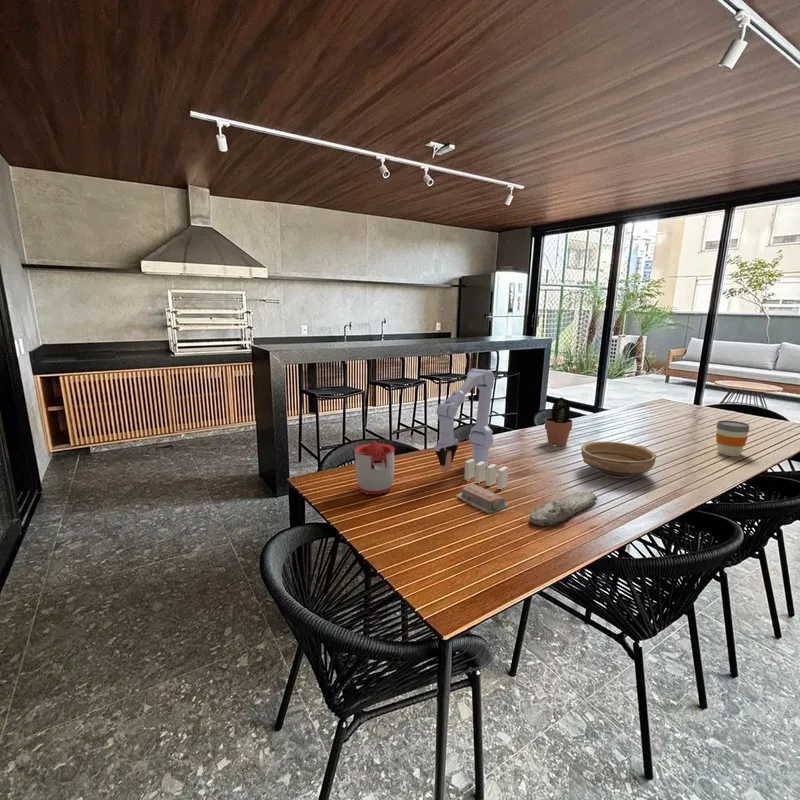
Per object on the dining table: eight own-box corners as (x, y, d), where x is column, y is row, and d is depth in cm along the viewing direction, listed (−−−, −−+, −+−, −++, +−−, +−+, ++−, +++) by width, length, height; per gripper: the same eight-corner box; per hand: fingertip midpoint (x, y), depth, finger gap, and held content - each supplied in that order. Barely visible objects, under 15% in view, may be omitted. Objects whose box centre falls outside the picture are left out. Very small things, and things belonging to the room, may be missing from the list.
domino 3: (475, 483, 175) (475, 464, 173) (481, 479, 178) (481, 461, 177) (478, 484, 173) (479, 465, 172) (485, 480, 177) (485, 462, 176)
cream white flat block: (464, 480, 178) (464, 461, 176) (470, 476, 182) (471, 458, 180) (468, 481, 177) (468, 462, 175) (474, 477, 180) (475, 459, 179)
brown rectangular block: (441, 471, 177) (441, 453, 176) (447, 468, 181) (448, 450, 180) (444, 472, 176) (444, 453, 175) (451, 469, 180) (451, 450, 178)
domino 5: (497, 489, 168) (497, 469, 167) (503, 485, 172) (503, 466, 170) (501, 490, 167) (502, 470, 166) (507, 486, 171) (508, 467, 169)
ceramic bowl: (618, 493, 163) (621, 468, 161) (558, 470, 187) (559, 448, 186) (674, 475, 181) (677, 452, 179) (612, 457, 205) (614, 436, 203)
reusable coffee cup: (752, 457, 202) (756, 426, 200) (725, 457, 203) (729, 426, 200) (732, 449, 215) (736, 420, 212) (707, 449, 215) (710, 420, 212)
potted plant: (538, 442, 230) (540, 396, 225) (557, 439, 236) (559, 394, 231) (557, 449, 218) (560, 401, 213) (576, 445, 223) (580, 398, 219)
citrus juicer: (360, 502, 157) (358, 450, 154) (352, 485, 174) (350, 437, 170) (401, 497, 161) (400, 446, 158) (389, 480, 178) (389, 434, 174)
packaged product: (509, 495, 151) (489, 502, 146) (509, 508, 152) (488, 515, 147) (474, 479, 166) (454, 485, 161) (474, 491, 167) (454, 497, 162)
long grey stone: (604, 506, 155) (578, 499, 163) (605, 492, 155) (579, 486, 163) (548, 531, 134) (521, 521, 142) (548, 515, 133) (522, 506, 141)
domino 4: (485, 486, 171) (486, 467, 170) (492, 482, 175) (492, 463, 174) (490, 487, 170) (490, 468, 169) (496, 483, 174) (496, 464, 172)
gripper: (448, 426, 184) (448, 457, 186) (428, 434, 173) (428, 466, 175) (462, 429, 179) (462, 460, 182) (442, 437, 168) (442, 470, 171)
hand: (446, 463), depth 178 cm, fingers closed on brown rectangular block, 5 cm apart
